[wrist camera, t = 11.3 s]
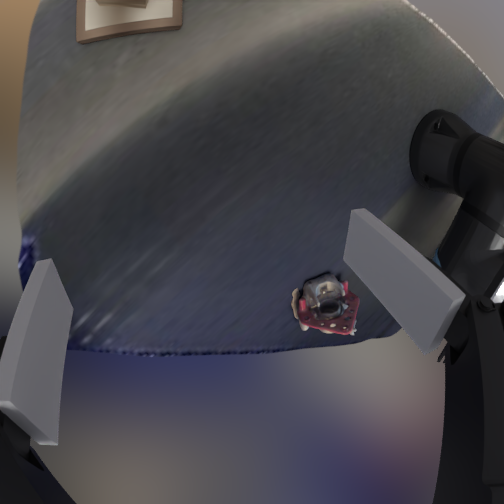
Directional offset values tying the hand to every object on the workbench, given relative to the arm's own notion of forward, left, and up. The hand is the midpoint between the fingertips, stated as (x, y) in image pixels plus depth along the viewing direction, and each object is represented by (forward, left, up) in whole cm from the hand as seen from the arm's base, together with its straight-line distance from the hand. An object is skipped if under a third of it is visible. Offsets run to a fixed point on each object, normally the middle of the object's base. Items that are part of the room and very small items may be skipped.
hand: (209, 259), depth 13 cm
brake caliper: (-23, +30, -26) cm, 46 cm away
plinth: (+4, -18, -26) cm, 32 cm away
